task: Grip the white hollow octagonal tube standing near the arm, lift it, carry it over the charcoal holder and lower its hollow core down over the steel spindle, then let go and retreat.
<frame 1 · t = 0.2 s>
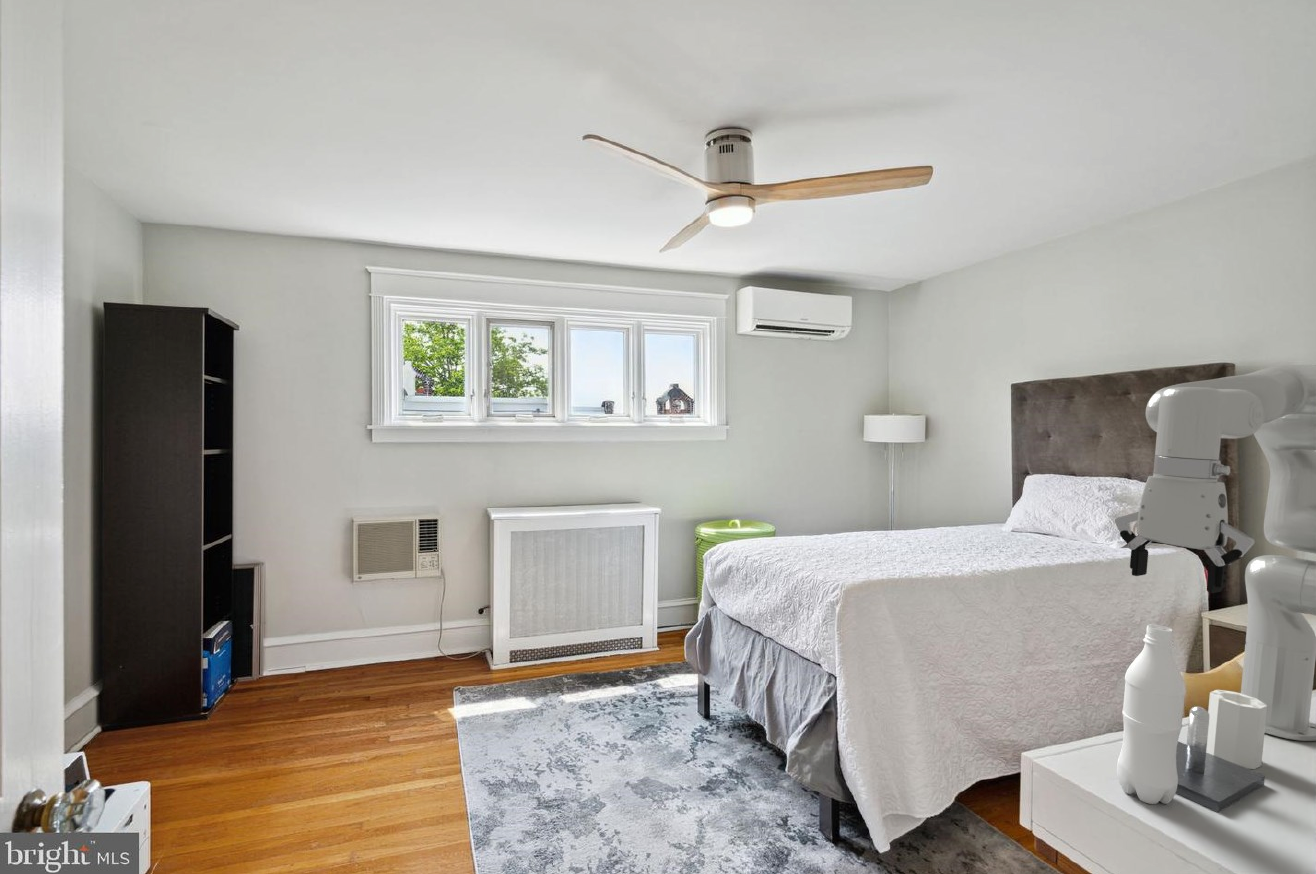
hand: (1175, 583, 100), 31 cm above the table, tool pointing down, fingers open, 9 cm apart
white hollow octagonal tube: (1232, 757, 110), on the table
water bottle: (1144, 796, 98), on the table
roll holder: (1193, 777, 103), on the table
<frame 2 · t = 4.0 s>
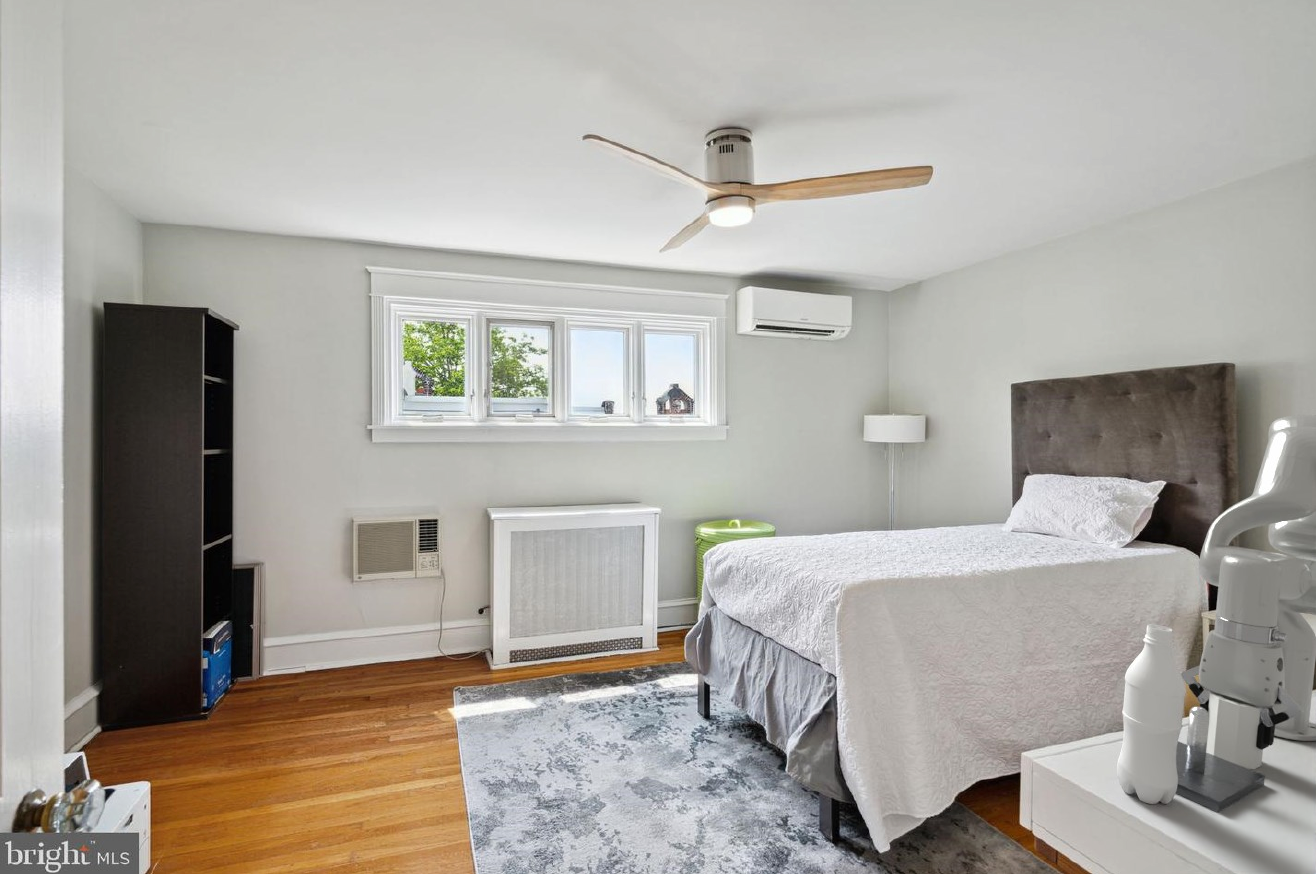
hand: (1234, 735, 110), 4 cm above the table, tool pointing down, fingers closed on white hollow octagonal tube, 6 cm apart
white hollow octagonal tube: (1232, 757, 110), on the table, touching gripper
everything else where it was.
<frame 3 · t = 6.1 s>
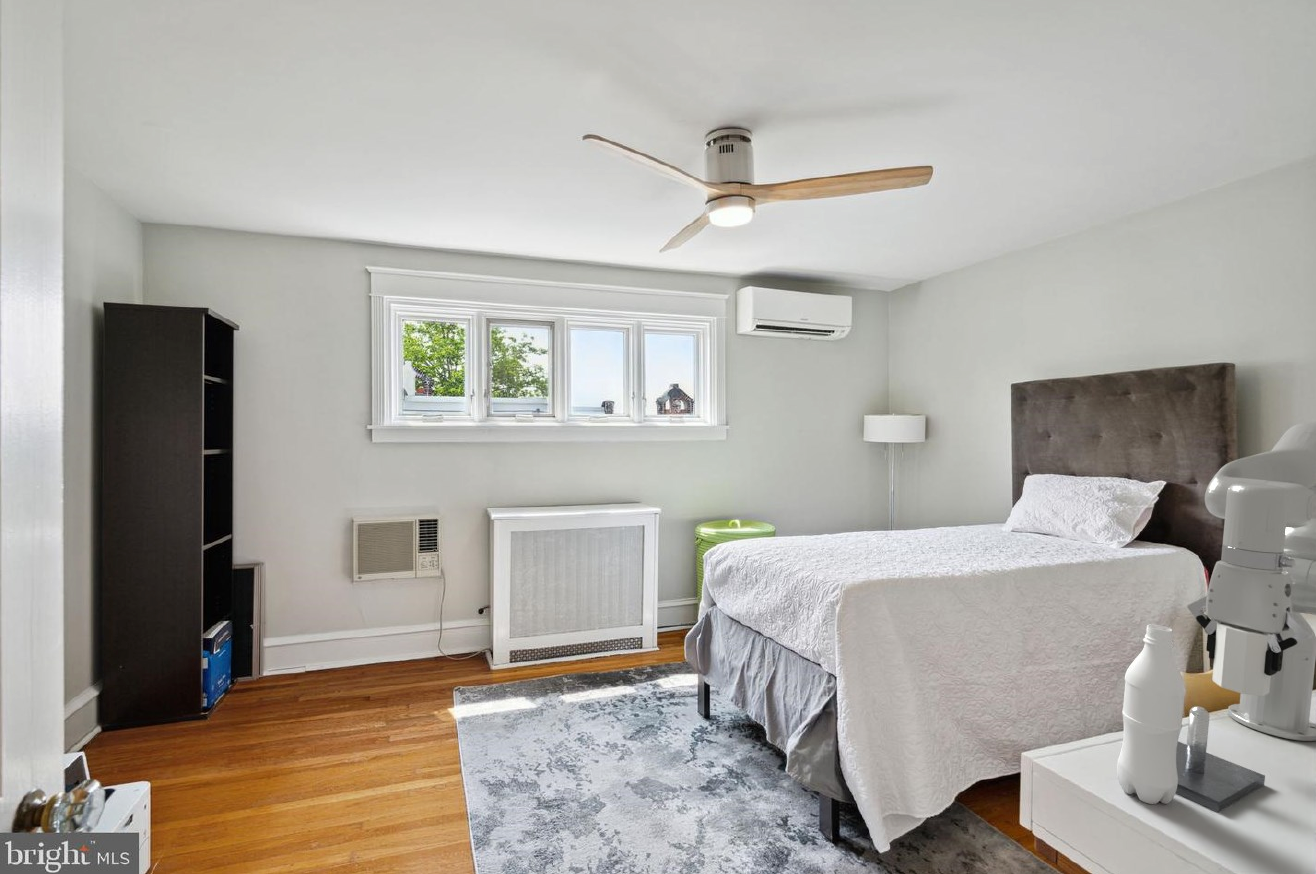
hand: (1242, 664, 110), 16 cm above the table, tool pointing down, fingers closed on white hollow octagonal tube, 6 cm apart
white hollow octagonal tube: (1240, 686, 110), point 12 cm above the table, touching gripper
everything else where it was.
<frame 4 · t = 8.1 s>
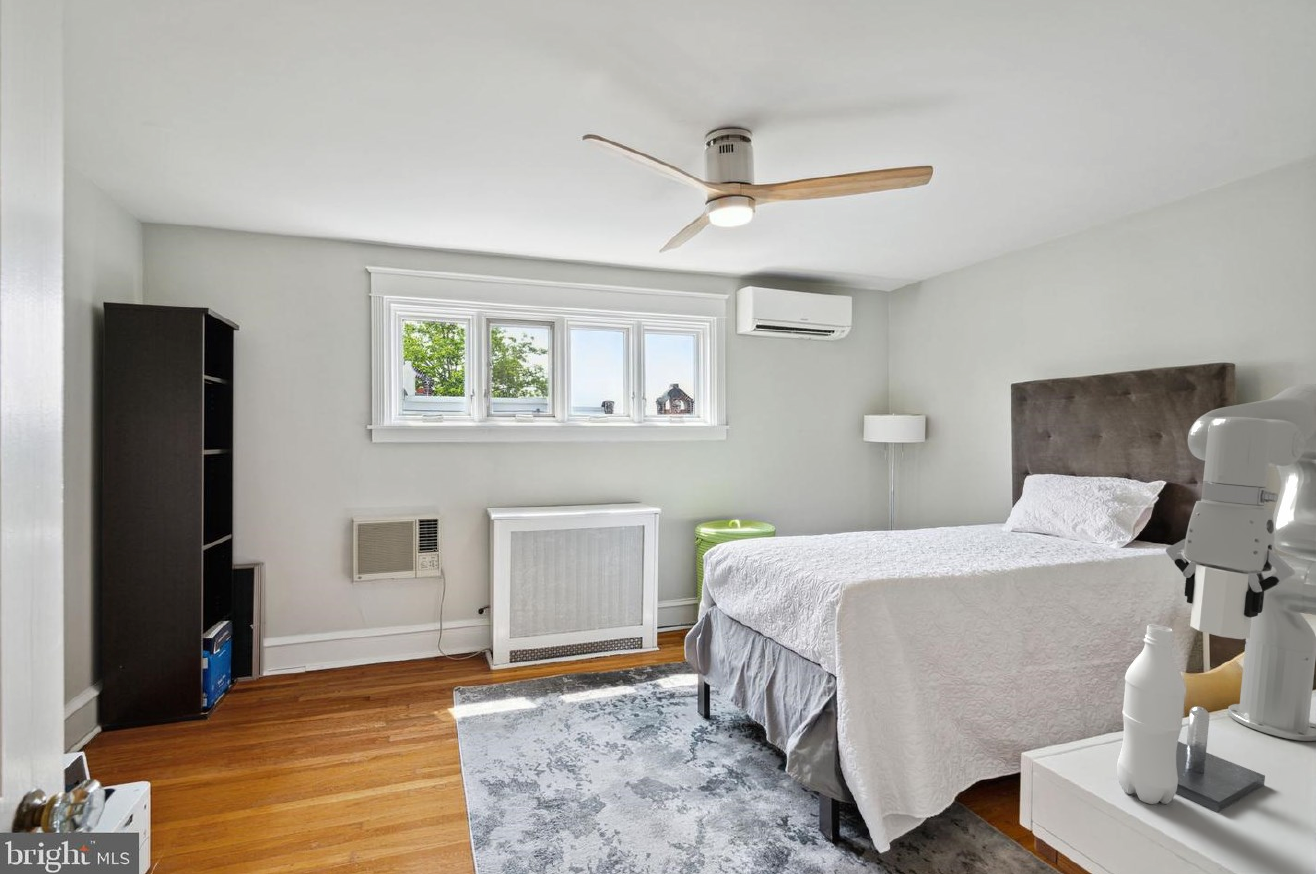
hand: (1221, 608, 104), 26 cm above the table, tool pointing down, fingers closed on white hollow octagonal tube, 6 cm apart
white hollow octagonal tube: (1219, 631, 104), point 23 cm above the table, touching gripper
everything else where it was.
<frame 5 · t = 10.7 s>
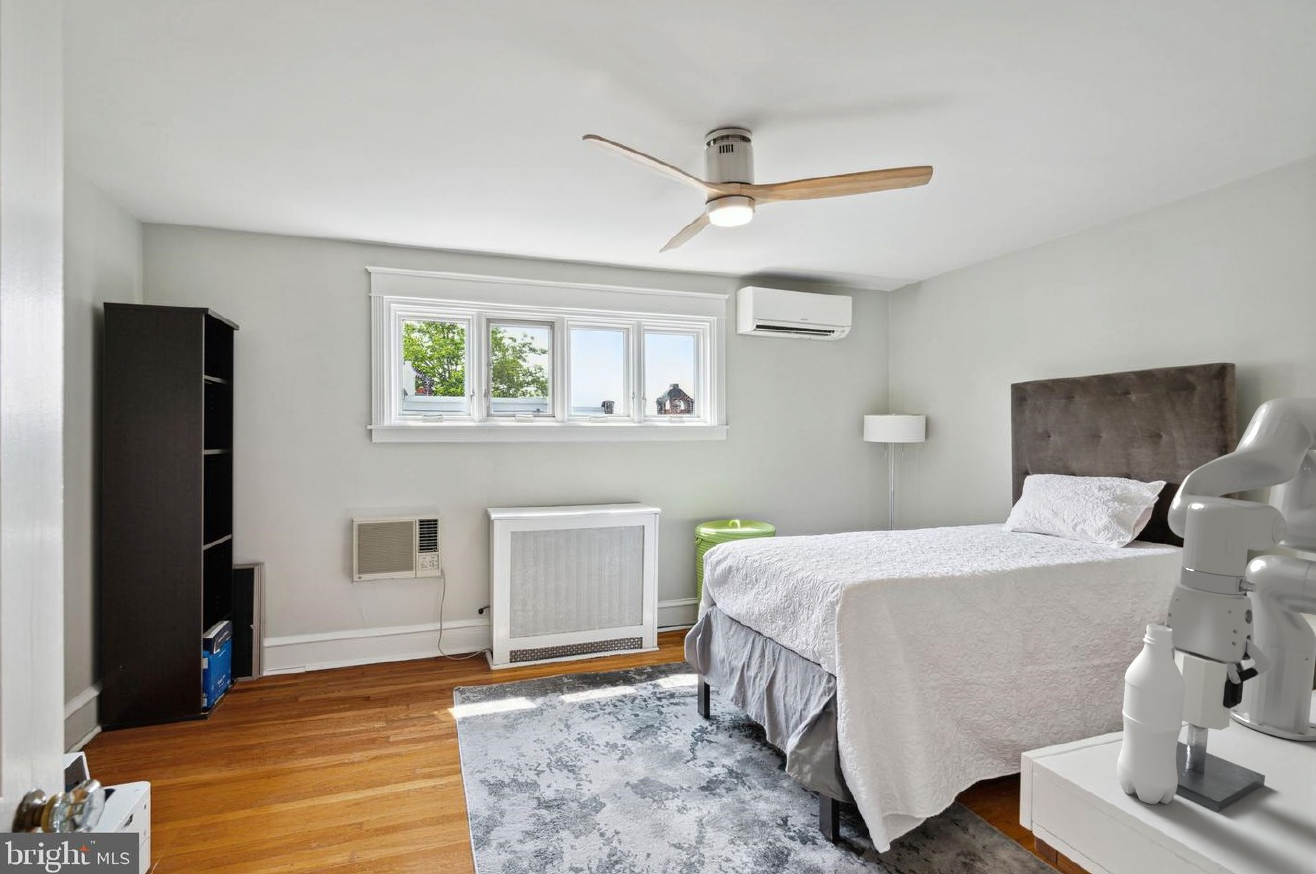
hand: (1200, 695, 103), 13 cm above the table, tool pointing down, fingers closed on white hollow octagonal tube, 6 cm apart
white hollow octagonal tube: (1198, 718, 103), point 9 cm above the table, touching gripper
everything else where it was.
when the fingers open (6 cm above the table, at t = 12.7 s): white hollow octagonal tube stays where it is, resting on roll holder.
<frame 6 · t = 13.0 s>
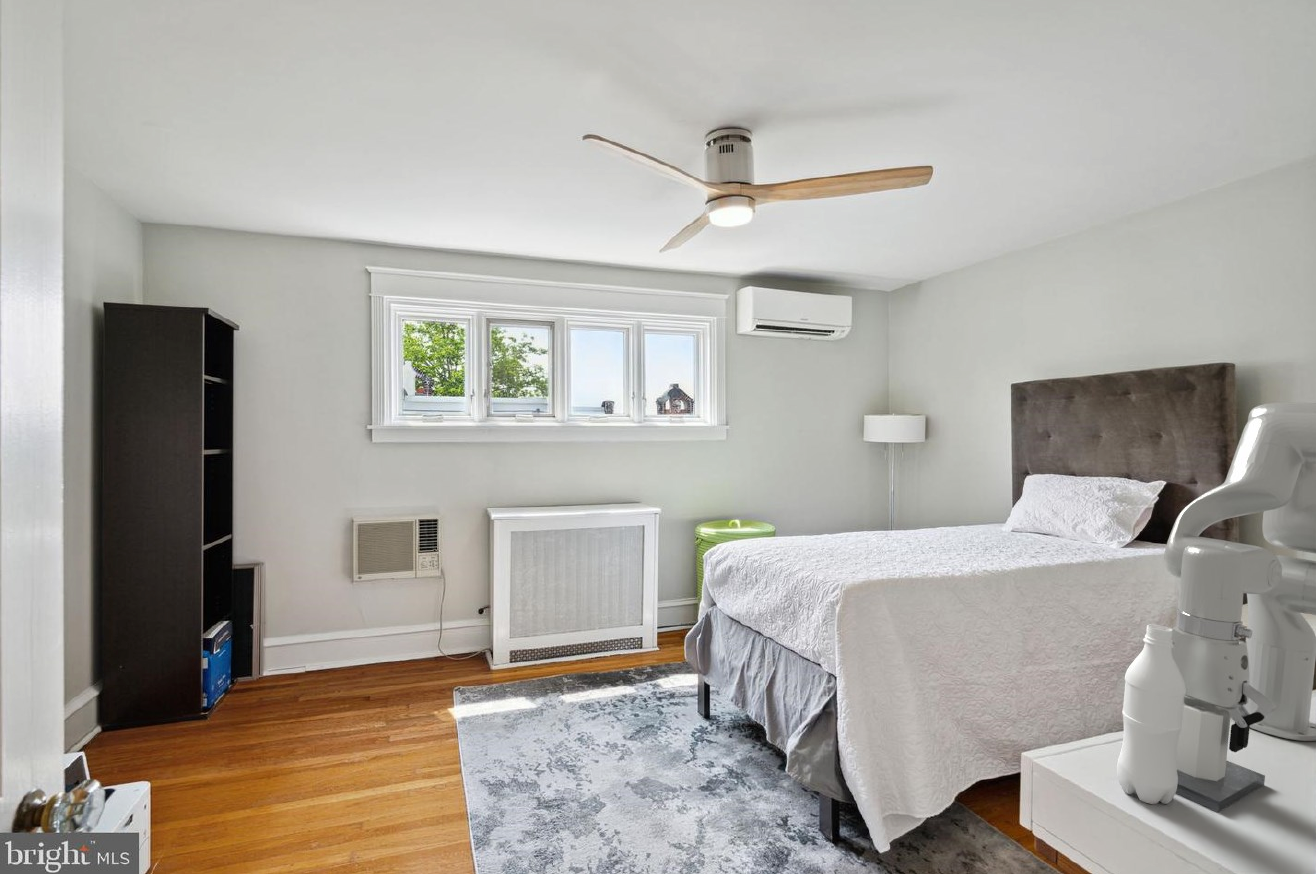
hand: (1197, 735, 103), 7 cm above the table, tool pointing down, fingers open, 9 cm apart
white hollow octagonal tube: (1194, 768, 103), point 1 cm above the table, touching roll holder
everything else where it was.
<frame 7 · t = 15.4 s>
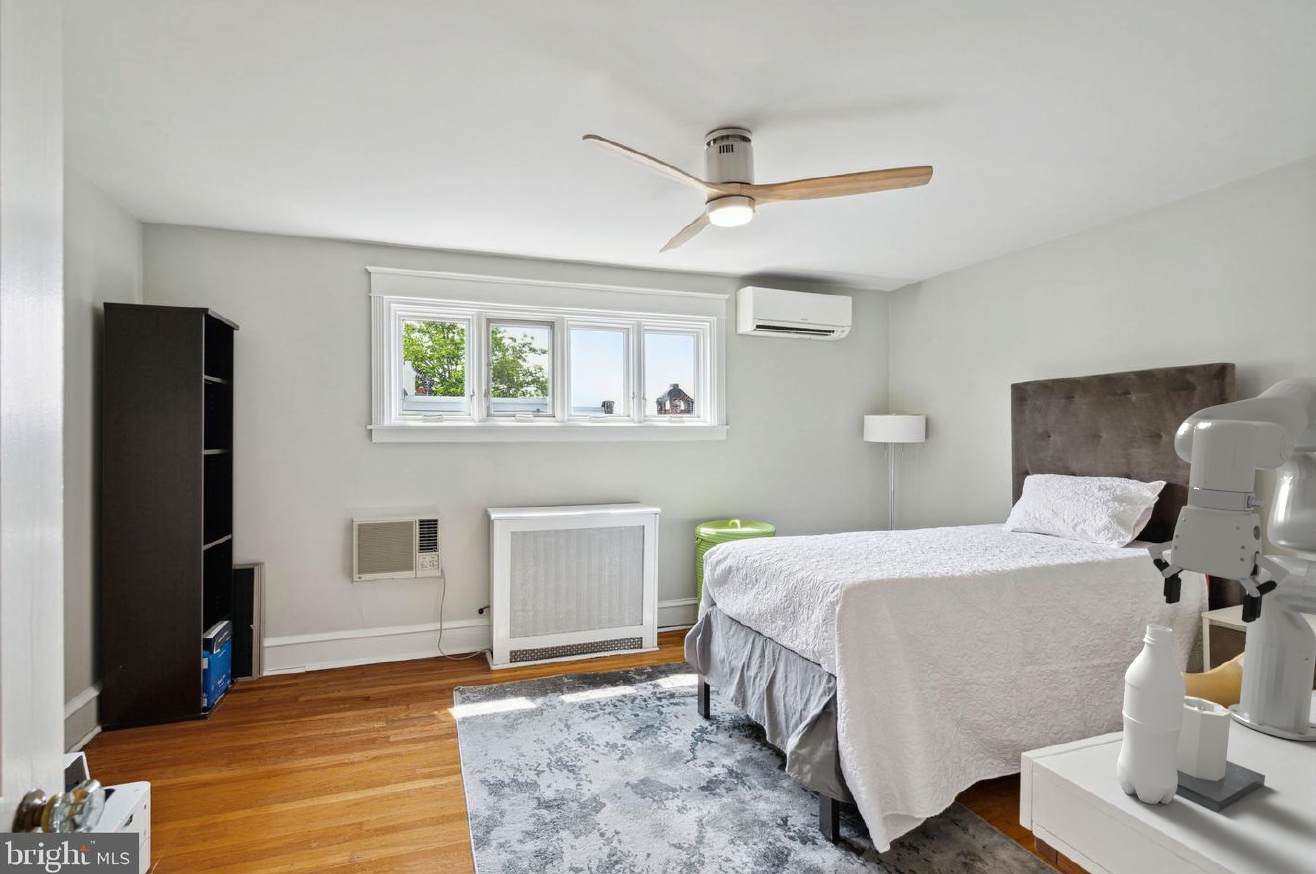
hand: (1209, 611, 102), 26 cm above the table, tool pointing down, fingers open, 9 cm apart
nothing on the table moved.
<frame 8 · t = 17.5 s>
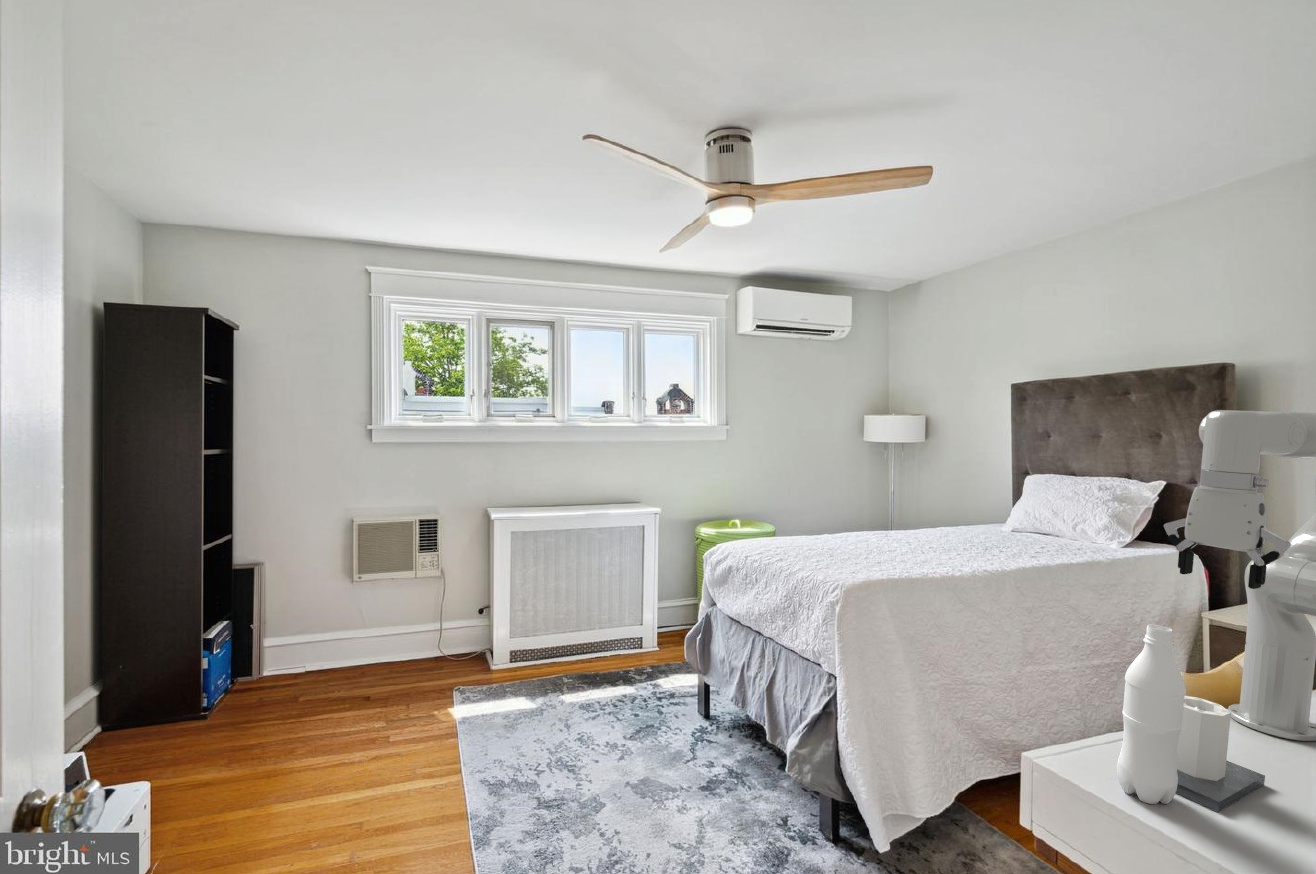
hand: (1219, 580, 115), 28 cm above the table, tool pointing down, fingers open, 9 cm apart
nothing on the table moved.
at the end: white hollow octagonal tube 0.0 cm off-centre on the roll holder, point 1.5 cm above the roll holder's base; white hollow octagonal tube tilted 0°; the gripper is holding nothing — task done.
